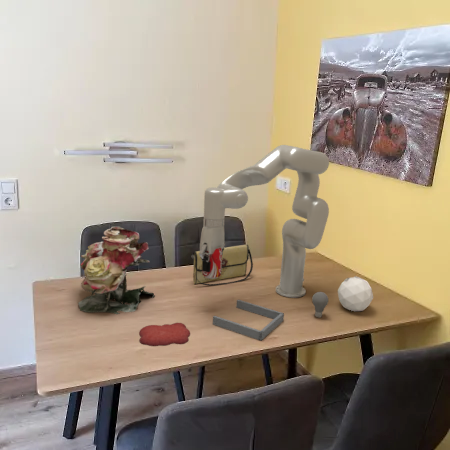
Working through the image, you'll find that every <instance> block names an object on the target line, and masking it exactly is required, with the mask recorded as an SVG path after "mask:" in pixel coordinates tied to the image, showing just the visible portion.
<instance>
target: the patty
mask: <svg viewBox="0 0 450 450" xmlns="http://www.w3.org/2000/svg"><path fill="white" fill-rule="evenodd" d="M138 334H139V337H140V338H139V341H138V342H139V343H140V344H141V345H145V346H149V347H159V346H161V347H163V346H169V345H185V344H186V343H187V344H188V343H189V337H190V336H191V331H190V330H189V328H188V327H187V326H186V325H185V324H184V323H182V322H175V323H172V324H169V323H167V324H166V323H165V324H163V325H159V324H150V325H146V326H144V327H142V328H140V330H139V332H138Z"/></svg>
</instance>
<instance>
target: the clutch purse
mask: <svg viewBox="0 0 450 450" xmlns="http://www.w3.org/2000/svg"><path fill="white" fill-rule="evenodd" d="M199 252H200V250H198V251H193V253H192V255H191V258H192V259H193V274H192V275H193V276H192V278H193V284H194V285H196V284H197V285H198V284H201V285H203V286H221V285H228V284H234V283H240V282H243V281H245V280H247V279H248V278H249V277H250V275H251V274H252V271H253V267H254V263H253V262H254V261H253V257H252V254H251V248H250V247H249V244H248V243H247V244H241V245H233V246H228V247H224V250H223V255H222V267H221V275H220V276H219V277H218V278H215V279H209V278H206V277H205V276H204V275H203V271H202V259H201V257H200V255H199ZM248 260H249V261H250V270H249V272H248V274H247V276H246V273H247V266H248V265H247V264H248ZM241 276H243V278H242V279H238V280H235V281H229V282H221V283H220V282H219V283H210V284H209V283H207V282H215V281H221V280H225V279H230V278H231V279H232V278H236V277H241ZM244 276H245V277H244Z"/></svg>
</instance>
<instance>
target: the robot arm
mask: <svg viewBox="0 0 450 450" xmlns="http://www.w3.org/2000/svg"><path fill="white" fill-rule="evenodd" d="M329 166H330V159H329V157H328V156H327V154H326V153H324V152H321V151H316V150H311V149H308V148H307V149H306V148H302V147H298V146H293V145H286V144H281V145H278V146H276V147H275V148H273V149H272V150H271V151H270V152H268V154H266V155H264V157H263V158H261V159H260V160H259V161H258V162H256V163H255V164H253V165H250V166H248V167H246V168H243V169H240V170H239V171H236V172H234V173H232V174H231V175H229V176H228V177H226V179H224V180H223V181H221V182H220V184H218V186H217V187H208V188H206V189H205V190H204V199H203V227H202V229H201V234H200V241H199V242H200V243H199V251H200V252H199V255H200V257H201V259H202V271H205V272H210V263H211V262H209V261H210V258H211V255H212V254H213V253H214V251H215V250H216V248H219V247H220V246H221V249H222V255H223V250H224V248H225V246H226V242H225V216H226V214H225V213H226V209H232V210H233V209H236V210H238V209H242V208H243V207H245V206H246V205H247V203H248V201H249V196H248V193H247V192H246V191H245V190H243V189H246V188H248V187H253V186H261V185H265V184H269V183H270V182H271V181H272V180H274V179H275V178H276V177H277V176H278V175H280V174H281V173H282V172H283V171H284V170H287V169H288V170H292V171H296V172H297V173H296V174H297V176H298V182H297V187H296V191H295V194H294V198H293V200H292V201H293V202H292V205H291V206H292V207H291V209H292V210H291V211H292V212H293V214H294V215H296V216H298V217H300V218H303V219H305V220H306V221H304V220H301V219H298V218H290V219H287V220H286V221H285V222H284V224H283V225H282V230H281V235H282V236H281V237H282V256H281V267H280V278H279V279H280V280H279V284H278V285H277V286H275V292H276V294H279V295H280V296H282V297H286V298H292V299H293V298H294V299H295V298H302V297H303V296H305V295H306V288H304V287H303V285H304V282H305V278H304V273H305V265H306V264H305V263H306V258H307V257H306V256H307V255H306V253H307V252H306V249H308V250H314V249H316V248H317V247H318V246H319V244H320V243H321V241H322V238H323V235H324V231H325V228H326V224H327V223H328V218H329V213H330V208H329V205H328V203H327V200H325V199H323V198H320V197H318V195H319V188H320V184H321V183H320V182H321V181H320V176H319V175H321V174H323V173H325V172H326V171H327V170H328V168H329ZM206 251H209V253H206ZM206 255H208V258H207V257H206Z"/></svg>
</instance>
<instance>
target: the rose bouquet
mask: <svg viewBox="0 0 450 450" xmlns="http://www.w3.org/2000/svg"><path fill="white" fill-rule="evenodd" d="M103 235H104V236H101V239H102V240H103V241H99V242H94V243H91V244H90V245H88V246H87V248H88V249H86V250H85V254H82V255H80V257H81V258H82V259H84V260H83V261H82V262H81V264H80V268H81V269H82V271H83V273H84V276H82V278H81V279H83V278H84V279H83V280H82V281H81V283H80V287H81V288H82V289H83V290H84V291H86V292H91V294H90V295H88V296H85V297H84V298H83V299H81V300H80V301H78V302H77V303H78V306H79V311H81V312H84V313H112V314H116V315H119V314H120V313H119V312H124V313H130V312H131V313H132V312H136V311H137V309H138V306H139V304H140V303H142V301H141V300H140V295H141V294H142V295H143V294H144V295H145V294H146V295H152V297H151V298H152V299H153V298H154V297H155V296H156V295H155V293H154V292H149V291H146V290H144V288H146V286H145V285H144V286H142V287H139V288H133V289H127V287H128V286H127V269H128V267H129V268H130V267H132V266H133V267H134V266H139V265H140V264H142V263H149V264H150V260H148V259H143V258H142V254H143V253H144V252H146V251H148V250H149V243H148V242H147V241H144V242H139V241H140V234H139V232H137V231H133V230H131V229H128V228H127V229H126V228H123V227H121V226H111V228H108V229H106V230H104V231H103ZM113 300H114V301H113Z"/></svg>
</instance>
